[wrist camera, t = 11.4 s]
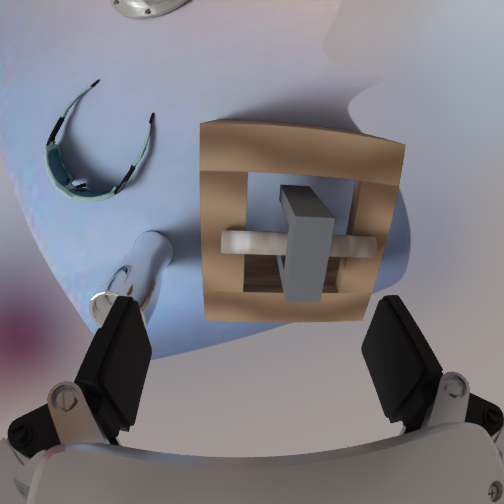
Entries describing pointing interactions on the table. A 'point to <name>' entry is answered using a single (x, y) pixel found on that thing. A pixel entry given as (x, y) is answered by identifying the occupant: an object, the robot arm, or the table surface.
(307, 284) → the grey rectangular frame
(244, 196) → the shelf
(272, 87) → the table surface
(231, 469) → the robot arm
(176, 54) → the table surface
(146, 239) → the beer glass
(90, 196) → the sunglasses
